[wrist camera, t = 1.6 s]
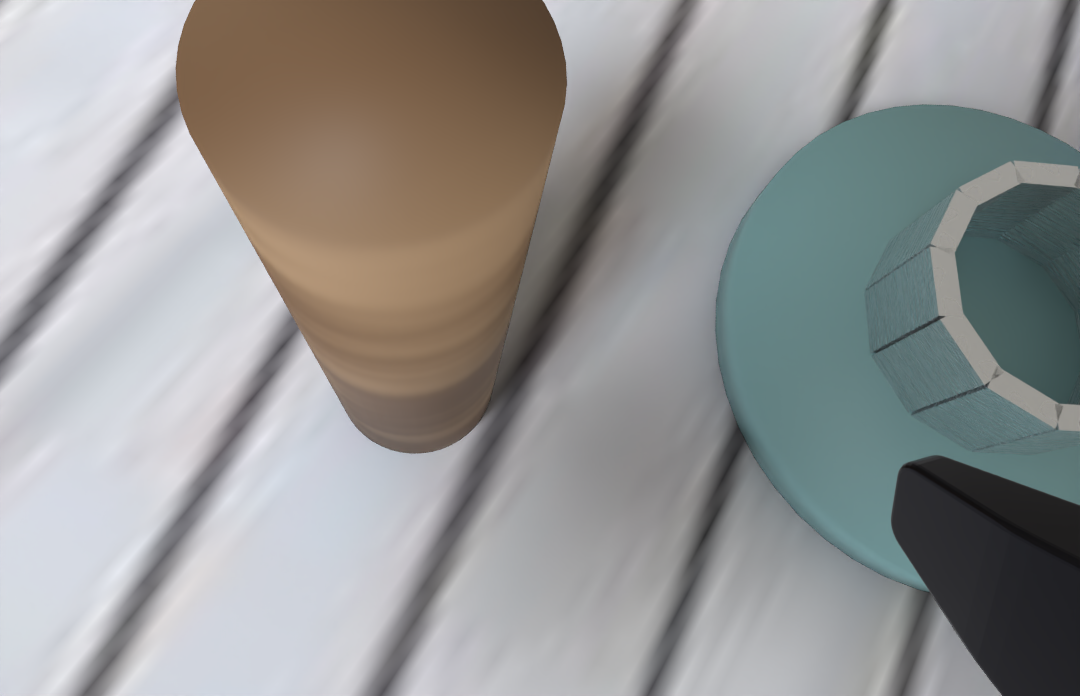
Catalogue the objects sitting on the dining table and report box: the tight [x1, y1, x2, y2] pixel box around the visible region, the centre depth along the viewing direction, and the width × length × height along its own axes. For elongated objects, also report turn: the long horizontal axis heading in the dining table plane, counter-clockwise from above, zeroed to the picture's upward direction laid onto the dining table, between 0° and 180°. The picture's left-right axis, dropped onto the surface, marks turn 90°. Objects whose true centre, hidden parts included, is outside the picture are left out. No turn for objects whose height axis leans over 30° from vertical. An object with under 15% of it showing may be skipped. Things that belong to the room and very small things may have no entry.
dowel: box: [176, 0, 567, 453], centre depth 14 cm, size 4×4×13 cm
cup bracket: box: [715, 105, 1080, 592], centre depth 21 cm, size 14×14×4 cm
